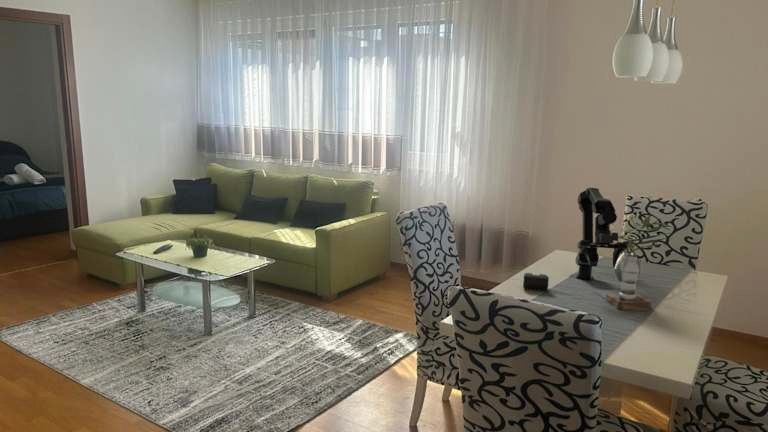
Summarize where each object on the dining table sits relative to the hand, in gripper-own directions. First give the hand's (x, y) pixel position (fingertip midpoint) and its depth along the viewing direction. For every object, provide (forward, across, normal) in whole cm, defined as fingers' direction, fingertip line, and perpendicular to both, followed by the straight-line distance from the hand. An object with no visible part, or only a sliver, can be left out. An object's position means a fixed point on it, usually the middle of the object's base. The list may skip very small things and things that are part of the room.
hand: (602, 266), depth 236 cm
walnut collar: (+15, +10, -2) cm, 18 cm away
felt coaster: (+11, +7, +8) cm, 15 cm away
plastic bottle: (+15, +9, 0) cm, 18 cm away
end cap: (+11, -25, +9) cm, 29 cm away
